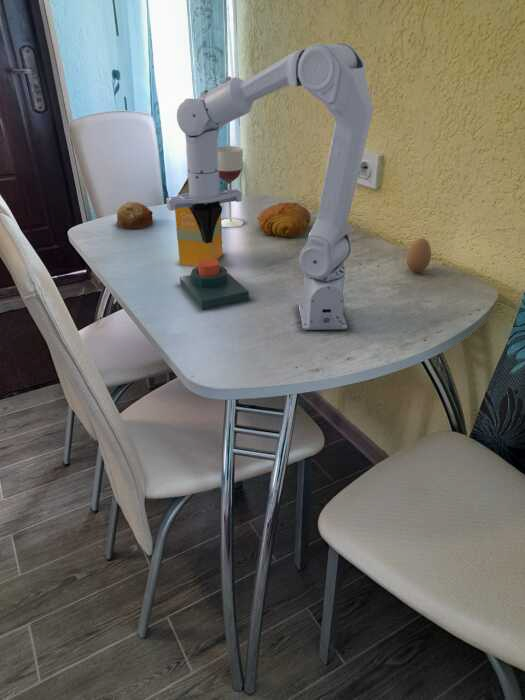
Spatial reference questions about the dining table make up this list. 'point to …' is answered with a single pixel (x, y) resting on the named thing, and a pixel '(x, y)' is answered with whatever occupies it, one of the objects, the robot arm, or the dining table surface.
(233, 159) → the wineglass
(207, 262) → the push button
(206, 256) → the orange juice
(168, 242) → the dining table surface
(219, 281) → the green button base
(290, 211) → the golden brown pastry bun
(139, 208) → the bread roll
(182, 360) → the dining table surface
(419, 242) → the egg
